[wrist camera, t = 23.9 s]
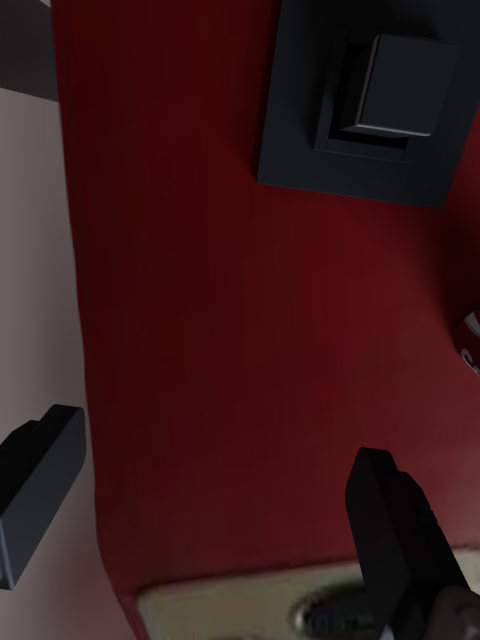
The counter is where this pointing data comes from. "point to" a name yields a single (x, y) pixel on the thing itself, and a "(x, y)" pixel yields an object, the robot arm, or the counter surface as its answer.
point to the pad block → (397, 87)
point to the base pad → (329, 90)
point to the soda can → (469, 340)
